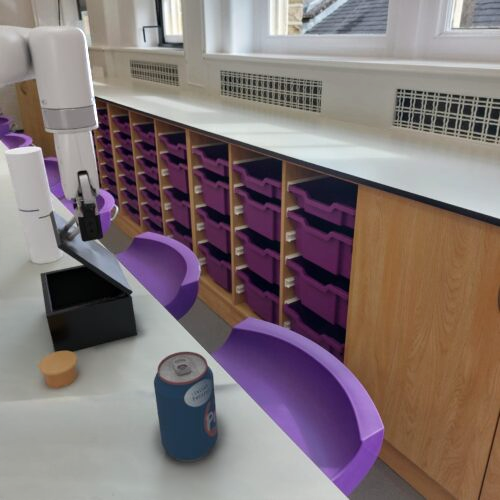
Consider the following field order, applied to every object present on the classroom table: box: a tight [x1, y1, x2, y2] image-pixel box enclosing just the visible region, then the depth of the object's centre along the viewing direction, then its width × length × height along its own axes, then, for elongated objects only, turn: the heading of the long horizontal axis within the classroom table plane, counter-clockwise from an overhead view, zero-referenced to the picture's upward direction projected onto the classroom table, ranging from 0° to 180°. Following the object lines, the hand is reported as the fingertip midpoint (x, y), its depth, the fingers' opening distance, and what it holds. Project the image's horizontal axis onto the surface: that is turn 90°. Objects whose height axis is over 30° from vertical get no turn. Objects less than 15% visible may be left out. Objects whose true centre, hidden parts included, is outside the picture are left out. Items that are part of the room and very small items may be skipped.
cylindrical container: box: [4, 146, 64, 265], centre depth 108 cm, size 7×7×25 cm
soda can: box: [153, 351, 219, 463], centre depth 59 cm, size 7×7×12 cm
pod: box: [38, 351, 78, 389], centre depth 71 cm, size 5×5×4 cm
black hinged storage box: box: [39, 264, 138, 353], centre depth 83 cm, size 13×16×9 cm
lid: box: [50, 207, 134, 296], centre depth 80 cm, size 14×16×5 cm
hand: (89, 231), depth 79 cm, fingers closed on lid, 6 cm apart
